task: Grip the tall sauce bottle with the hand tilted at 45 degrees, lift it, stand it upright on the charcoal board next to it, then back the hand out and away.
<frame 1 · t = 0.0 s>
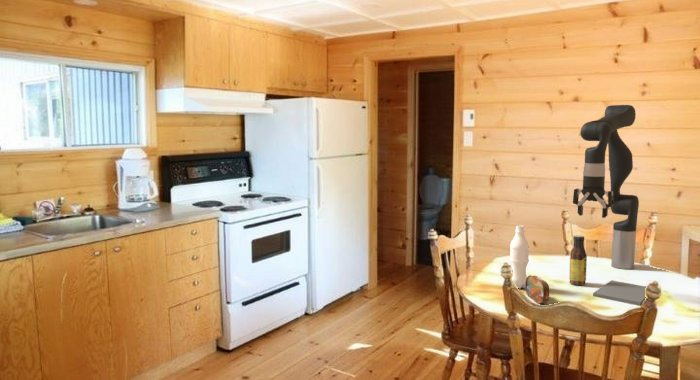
hand: (592, 216, 199), 29 cm above the table, tool pointing down, fingers open, 8 cm apart
charcoal board: (624, 293, 197), on the table
sauce bottle: (577, 284, 210), on the table
water bottle: (518, 287, 206), on the table
tin: (537, 300, 191), on the table
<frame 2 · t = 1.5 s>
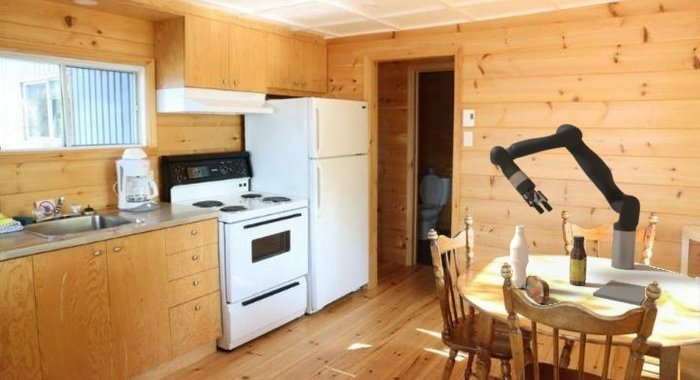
hand: (546, 211, 218), 28 cm above the table, tool tilted 45°, fingers open, 8 cm apart
nothing on the table moved.
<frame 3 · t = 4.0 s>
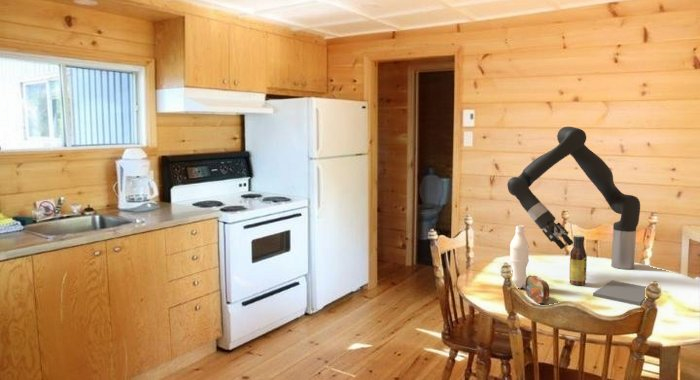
hand: (567, 246, 211), 15 cm above the table, tool tilted 45°, fingers open, 8 cm apart
nothing on the table moved.
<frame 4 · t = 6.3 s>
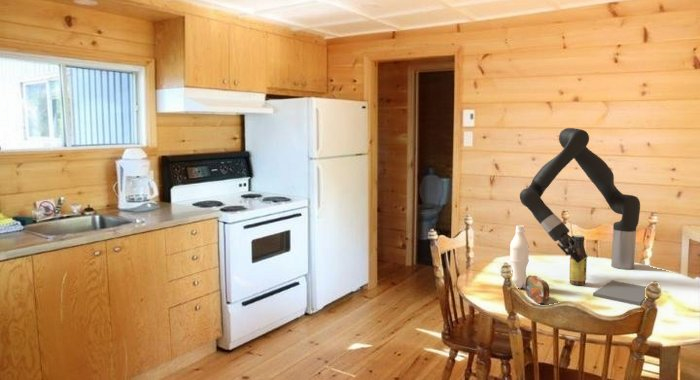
hand: (582, 259, 208), 10 cm above the table, tool tilted 45°, fingers closed on sauce bottle, 6 cm apart
sauce bottle: (577, 284, 210), on the table, touching gripper
everything else where it was.
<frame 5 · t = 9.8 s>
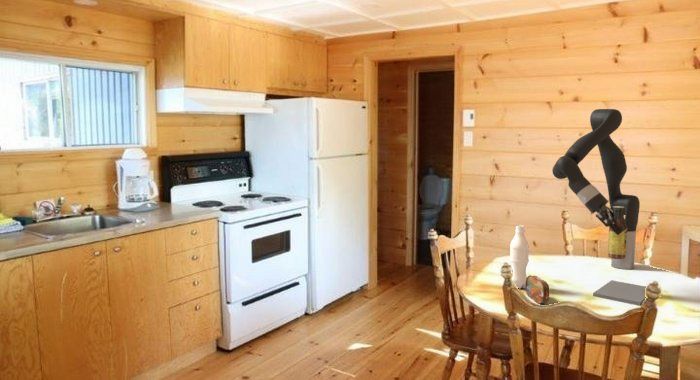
hand: (622, 231, 195), 24 cm above the table, tool tilted 45°, fingers closed on sauce bottle, 6 cm apart
sauce bottle: (616, 258, 198), point 13 cm above the table, touching gripper
everything else where it was.
when the fingers open (13 cm above the table, at t = 13.3 s): sauce bottle stays where it is, resting on charcoal board.
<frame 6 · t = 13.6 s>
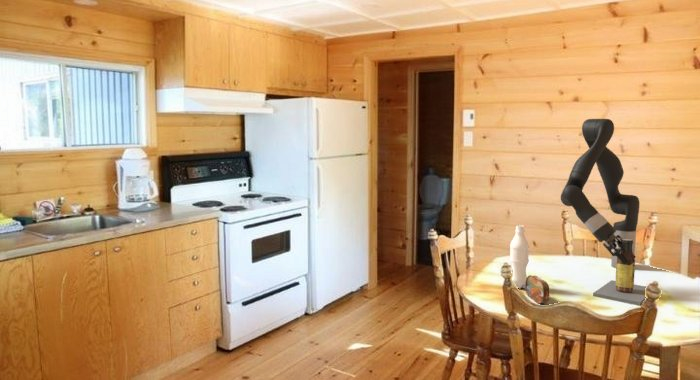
hand: (630, 260, 194), 13 cm above the table, tool tilted 45°, fingers open, 8 cm apart
sauce bottle: (623, 290, 197), point 1 cm above the table, touching charcoal board
everything else where it was.
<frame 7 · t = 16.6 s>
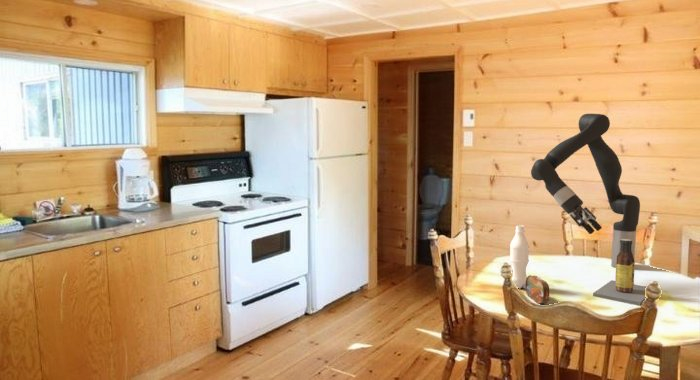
hand: (596, 231, 202), 23 cm above the table, tool tilted 45°, fingers open, 8 cm apart
nothing on the table moved.
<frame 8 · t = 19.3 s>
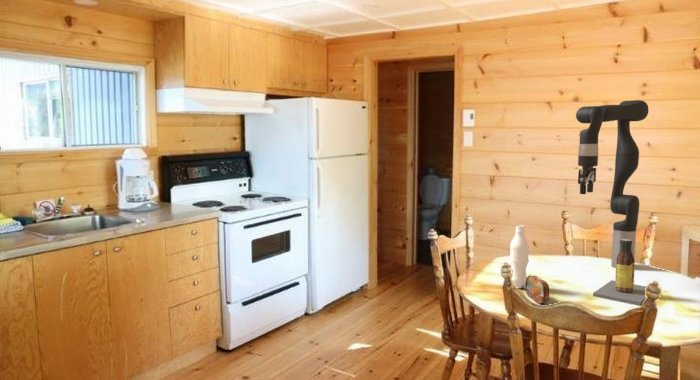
hand: (586, 193, 216), 36 cm above the table, tool pointing down, fingers open, 8 cm apart
nothing on the table moved.
at the end: sauce bottle inside the target area on the charcoal board (0.4 cm from its centre), point 1.0 cm above the charcoal board's base; sauce bottle tilted 0°; the gripper is holding nothing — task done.
